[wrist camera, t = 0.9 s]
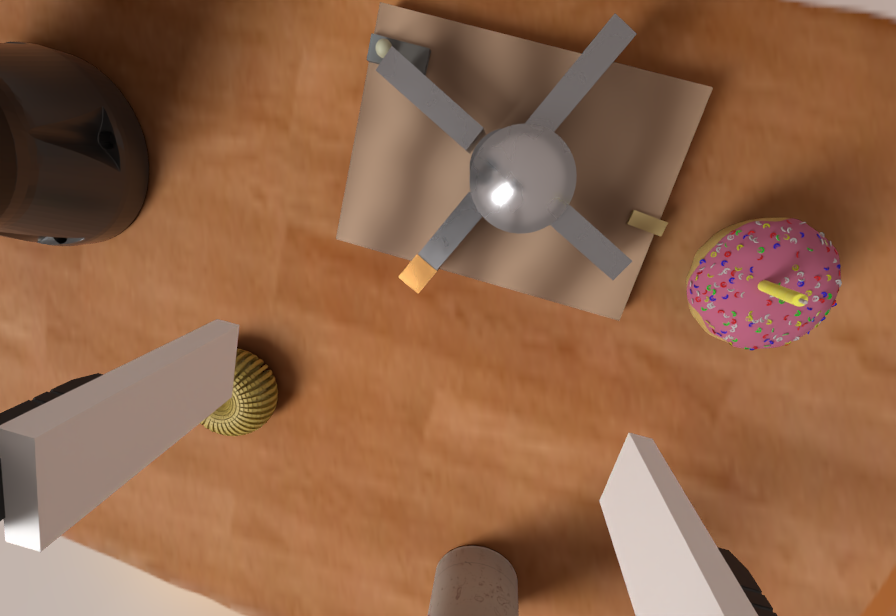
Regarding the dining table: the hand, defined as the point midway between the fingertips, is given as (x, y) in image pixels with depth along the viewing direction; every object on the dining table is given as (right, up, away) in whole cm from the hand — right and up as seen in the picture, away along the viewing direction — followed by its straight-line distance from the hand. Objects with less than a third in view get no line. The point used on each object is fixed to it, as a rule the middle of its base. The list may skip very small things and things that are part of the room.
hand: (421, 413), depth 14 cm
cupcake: (+21, +6, +18) cm, 28 cm away
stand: (+5, +13, +18) cm, 23 cm away
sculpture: (-18, -3, +26) cm, 32 cm away
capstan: (+5, +13, +15) cm, 21 cm away
